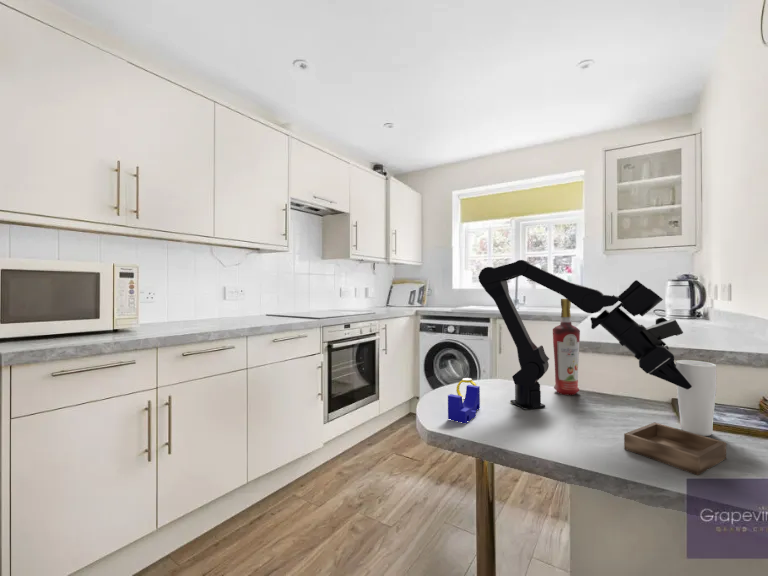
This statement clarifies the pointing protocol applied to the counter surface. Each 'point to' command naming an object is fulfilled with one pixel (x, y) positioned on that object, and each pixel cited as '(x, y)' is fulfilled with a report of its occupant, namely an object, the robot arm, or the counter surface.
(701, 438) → the walnut box
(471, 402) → the blue u-shaped holder
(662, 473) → the counter surface
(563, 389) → the liquor
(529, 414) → the counter surface
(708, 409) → the drinking glass
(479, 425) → the counter surface
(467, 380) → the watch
